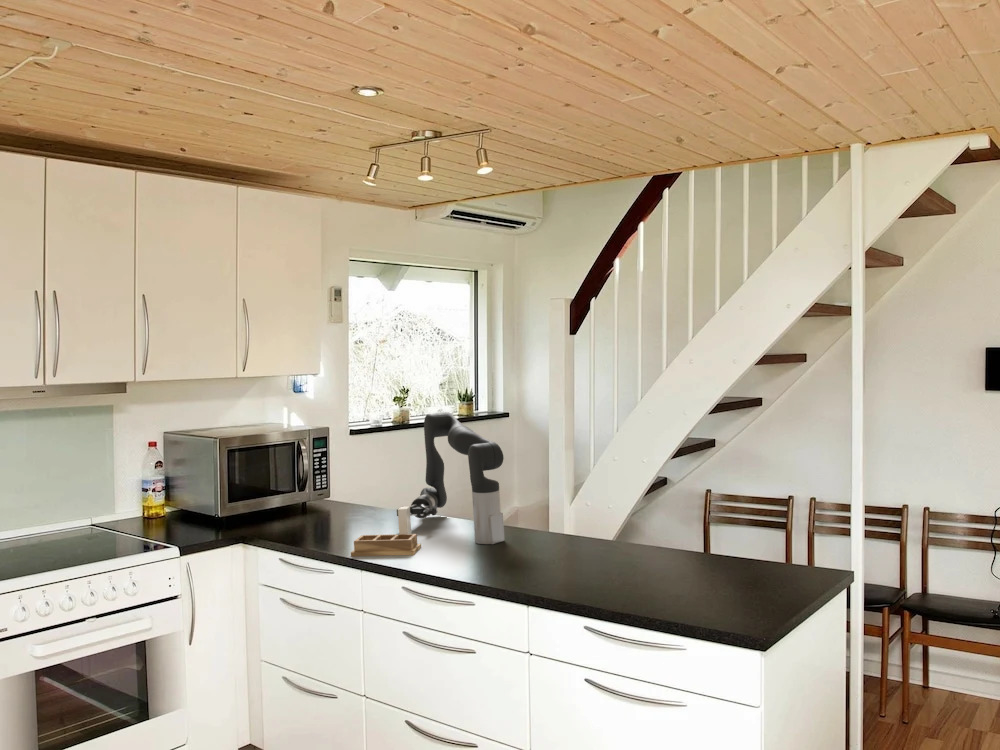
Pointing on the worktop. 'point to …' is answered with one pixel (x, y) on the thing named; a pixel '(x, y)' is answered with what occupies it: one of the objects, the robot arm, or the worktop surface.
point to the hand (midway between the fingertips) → (412, 515)
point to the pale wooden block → (404, 520)
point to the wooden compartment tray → (386, 545)
